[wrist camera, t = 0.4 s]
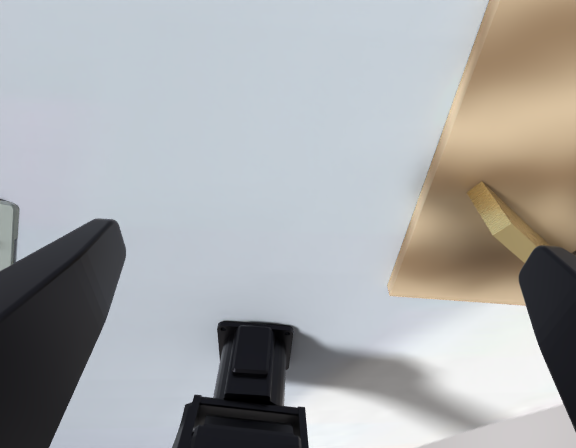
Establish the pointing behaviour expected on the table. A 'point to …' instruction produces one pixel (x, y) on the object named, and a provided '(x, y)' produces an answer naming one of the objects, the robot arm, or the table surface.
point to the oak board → (499, 157)
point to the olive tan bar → (505, 222)
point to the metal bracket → (8, 232)
